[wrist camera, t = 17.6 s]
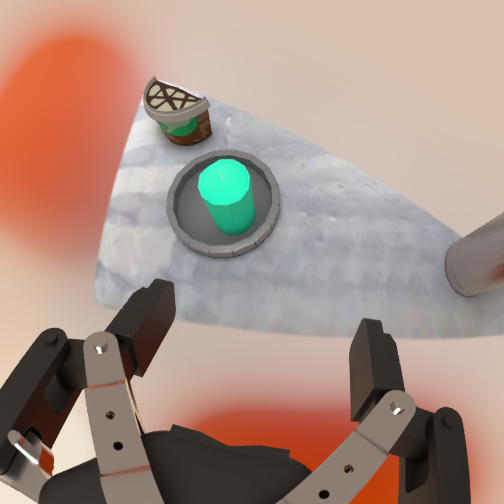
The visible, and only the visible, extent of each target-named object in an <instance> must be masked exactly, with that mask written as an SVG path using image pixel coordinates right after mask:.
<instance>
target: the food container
mask: <svg viewBox="0 0 504 504" xmlns="http://www.w3.org/2000/svg"><path fill="white" fill-rule="evenodd" d="M143 102H144V107H145V111H146V113H147V114H148V115H149V116H150V117H151V118H152V119H154V120H156V121H157V122H158V123H159V125H160V127H161V128H162V130H163V131H164V133H165V134H166V136H167V137H168V138H169V140H170V141H171V142H173V143H175V144H177V145H182V146H189V145H194V144H197V143H199V142H202V141H203V140H205V139H207V138H208V137H209V136H210V135H211V134H212V130H211V125H210V119H209V113H208V108H209V107H210V104H209V102H208V100H207V99H206V97H205V96H204V97H203V98H202V99H201V98H198V97H195V96H193V95H191V94H189V93H187V92H185V91H183V90H182V89H179V88H177V87H174V86H170V85H167V84H164V83H162V82H159V81H157V79H156V78H155V76H154V77H153V78H152V79H151V80H150V81H149V82H148V84H147V85H146V87H145V90H144V96H143Z"/></svg>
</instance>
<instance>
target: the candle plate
mask: <svg viewBox="0 0 504 504" xmlns="http://www.w3.org/2000/svg"><path fill="white" fill-rule="evenodd" d="M220 159H234V160H235V161H237V162H239V163H241V164H242V165H244V166H245V168H246V170H247V171H248V173H249V175H250V180H251V187H252V194H253V200H254V207H255V219H254V223H253V225H252V226H251V227H250V229H249V230H248V231H247V232H244V233H242V234H240V235H238V236H236V235H226V234H225V233H223V232H222V231H220V230H219V229H218V228H217V226H216V224H215V222H214V220H213V218H212V216H211V214H210V212H209V210H208V208H207V206H206V204H205V202H204V200H203V198H202V196H201V194H200V191H199V189H198V183H199V176H200V174H201V173H202V172H203V171H204V170H205V169H206V168H207V167H208V166H210V165H211V164H213V163H215V162H217V161H218V160H220ZM279 208H280V202H279V186H278V183H277V181H276V179H275V177H274V175H273V174H272V172H271V170H270V168H268V166H267V165H266V164H264V163H263V162H262V161H260V160H259V159H258V158H256V157H255V156H254V155H253V156H252V155H251V154H248V153H244V152H241V151H237V150H219V151H213V153H212V151H211V152H209V153H207V154H204V155H202V156H200V157H197V158H195V159H194V160H192V161H191V162H189V163H188V164H187V165H186V166H185V167H184V168H183V169H182V170H181V171H180V172H178V174H177V175H176V177H175V179H174V181H173V183H172V185H171V187H170V189H169V192H168V198H167V209H166V211H167V215H168V218H169V221H170V223H171V226H172V229H173V231H174V232H175V233H176V234H177V235H178V236H179V237H180V238H181V239H182V240H183V241H184V242H185V243H186V244H187V245H188V246H189V247H190V248H191V249H192V250H195V251H196V252H198V253H200V254H203V255H206V256H209V257H215V258H229V257H235V256H239V255H242V254H244V253H247V252H249V251H251V250H252V249H254V248H255V247H257V246H258V245H259V244H261V243H262V242H263V241H264V240H265V239H266V237H267V236H268V235H269V234H270V232H271V231H272V229H273V227H274V225H275V223H276V220H277V216H278V213H279Z"/></svg>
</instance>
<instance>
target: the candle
mask: <svg viewBox="0 0 504 504" xmlns="http://www.w3.org/2000/svg"><path fill="white" fill-rule="evenodd" d="M198 189H199V191H200V194H201V196H202V198H203V200H204V202H205V204H206V206H207V208H208V210H209V212H210V214H211V216H212V218H213V220H214V222H215V224H216V226H217V228H218V229H219V230H220V231H222V232H223V233H225V234H226V235H236V236H238V235H240V234H242V233H244V232H247V231H248V230H249V229H250V227H251V226H252V225H253V223H254V219H255V207H254V200H253V194H252V187H251V180H250V175H249V173H248V171H247V170H246V168H245V166H244V165H242V164H241V163H239V162H237V161H235V160H234V159H220V160H218V161H217V162H215V163H213V164H211V165H210V166H208V167H207V168H206V169H205V170H204V171H203V172H202V173H201V174H200V176H199V183H198Z"/></svg>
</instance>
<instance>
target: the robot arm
mask: <svg viewBox="0 0 504 504" xmlns="http://www.w3.org/2000/svg"><path fill="white" fill-rule="evenodd" d="M446 273H447V276H448V279H449V282H450V283H451V285H452V287H453V288H454V289H455V290H456V291H457V292H458V293H459V294H462V295H464V296H474V295H478V294H481V293H485V292H489V291H492V290H496V289H499V288H502V287H504V212H503V213H502V214H500V215H499V216H497V217H495V218H494V219H493V220H491V221H490V222H488V223H486V224H485V225H483V226H481V227H480V228H478V229H477V230H475V231H474V232H472V233H470V234H469V235H467V236H465V237H464V238H462V239H460V240H459V241H457V242H455V243H454V244H453V245H452V246H451V247H450V249H449V251H448V253H447V256H446ZM175 313H176V306H175V292H174V284H173V282H171V281H166V280H162V279H157V278H156V279H155V280H154V281H153V282H152V283H151V285H150V286H149V287H148V288H145V287H142V288H141V289H139V290H138V291H136V292H134V293H133V294H132V296H131V297H130V298H129V299H128V301H127V302H126V303H125V305H124V306H123V308H122V309H121V310H120V311H119V312H118V314H117V315H116V316H115V318H114V319H113V320H112V322H111V323H110V324H109V326H108V327H107V328H106V330H105V331H103V332H102V331H101V332H96V333H93V334H91V335H90V336H89V337H88V338H87V339H86V340H79V339H68V338H67V336H66V334H65V332H64V331H63V330H62V329H59V328H50V329H47V330H45V331H43V332H42V333H41V334H40V335H39V336H38V338H37V339H36V340H35V342H34V343H33V344H32V345H31V347H30V348H29V349H28V351H27V352H26V354H25V355H24V356H23V358H22V359H21V360H20V362H19V363H18V365H17V366H16V367H15V369H14V370H13V372H12V373H11V374H10V376H9V377H8V379H7V380H6V382H5V383H4V385H3V386H2V388H1V389H0V481H2V482H3V483H4V484H6V485H9V486H11V487H12V488H14V489H16V490H17V491H20V492H21V493H23V494H24V495H26V496H27V497H29V498H30V499H32V500H33V501H35V502H37V503H38V504H348V503H349V502H350V501H351V500H352V499H353V498H354V497H355V496H356V495H357V493H358V492H359V491H360V490H361V489H362V488H363V487H364V485H365V484H366V483H367V482H368V481H369V480H370V478H371V477H372V476H373V474H375V472H376V471H377V470H378V468H379V467H380V466H381V465H382V463H383V462H384V461H385V459H386V458H387V456H388V455H389V453H390V454H393V455H396V456H399V458H400V459H399V460H400V462H399V463H400V465H399V495H398V504H471V495H470V478H469V467H468V457H467V449H466V442H465V435H464V428H463V422H462V418H461V417H460V415H459V413H458V412H457V411H455V410H454V409H452V408H449V407H443V408H440V409H439V410H437V411H436V412H435V413H432V412H429V411H426V410H423V409H420V408H418V407H416V406H415V402H414V400H413V399H412V397H411V396H410V395H408V394H407V393H405V388H404V382H403V377H402V371H401V366H400V363H399V356H398V351H397V346H396V343H395V341H394V340H393V338H392V337H391V335H390V334H386V333H383V328H382V323H381V321H380V320H374V319H367V318H363V319H362V321H361V323H360V325H359V328H358V330H357V332H356V335H355V337H354V339H353V341H352V344H351V347H350V353H349V365H350V389H351V390H350V393H351V421H356V422H359V424H360V425H359V426H358V427H357V429H355V430H354V431H353V432H352V433H351V434H350V435H349V436H348V437H347V439H346V440H345V441H344V442H343V443H342V444H341V445H340V446H339V447H338V448H337V449H336V450H335V451H334V452H333V453H332V454H331V455H330V456H329V457H328V458H327V459H326V460H325V461H324V462H323V463H322V464H321V465H320V466H319V467H318V468H317V469H316V470H315V471H314V472H312V471H311V470H310V469H309V468H307V467H306V466H305V465H303V464H302V463H300V462H299V461H297V460H294V459H292V458H290V457H289V452H290V450H286V449H279V448H273V447H267V446H261V445H259V446H228V445H225V444H223V443H221V442H219V441H217V440H215V439H213V438H211V437H209V436H207V435H205V434H203V433H201V432H199V431H195V430H191V429H188V428H185V427H181V426H178V425H174V424H173V425H172V427H171V430H170V431H153V432H150V433H146V431H145V429H144V426H143V423H142V421H141V418H140V414H139V411H138V407H137V404H136V400H135V397H134V393H133V389H132V386H131V382H130V380H131V378H132V377H133V375H137V376H140V377H143V375H144V374H145V372H146V370H147V368H148V366H149V365H150V363H151V361H152V359H153V357H154V355H155V354H156V352H157V350H158V348H159V346H160V345H161V343H162V341H163V339H164V337H165V336H166V334H167V332H168V330H169V329H170V327H171V325H172V323H173V321H174V318H175ZM83 389H85V398H86V405H87V412H88V417H89V423H90V428H91V433H92V438H93V443H94V448H95V452H96V456H97V457H95V458H93V459H91V460H89V461H86V462H84V463H82V464H80V465H77V466H75V467H73V468H71V469H68V470H65V471H63V472H61V473H58V474H56V475H54V476H52V471H53V469H54V456H53V453H52V452H51V448H52V446H53V444H54V442H55V440H56V438H57V436H58V434H59V433H60V430H61V429H62V427H63V425H64V423H65V421H66V419H67V417H68V415H69V413H70V412H71V410H72V408H73V406H74V404H75V402H76V400H77V398H78V397H79V395H80V393H81V391H82V390H83Z"/></svg>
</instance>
